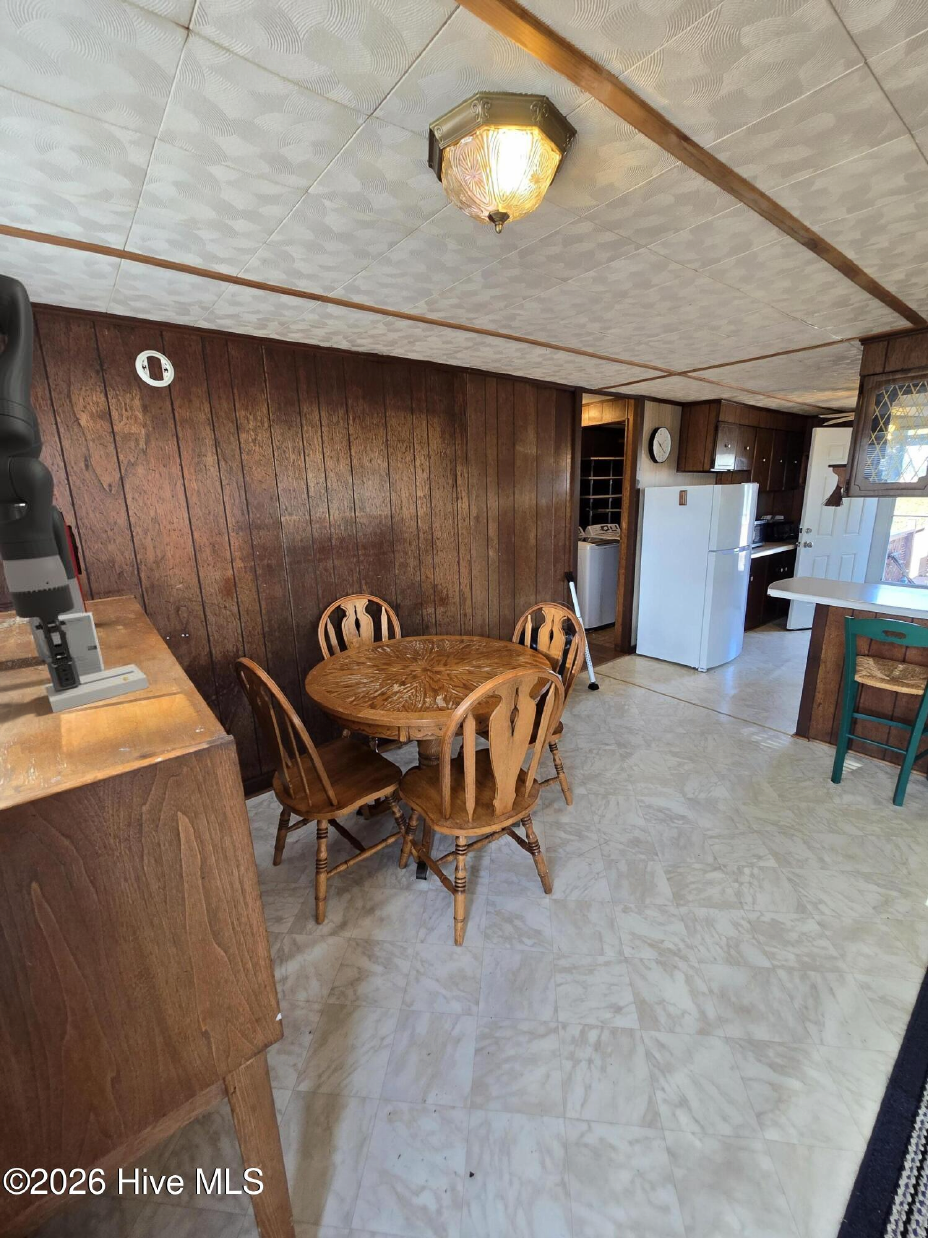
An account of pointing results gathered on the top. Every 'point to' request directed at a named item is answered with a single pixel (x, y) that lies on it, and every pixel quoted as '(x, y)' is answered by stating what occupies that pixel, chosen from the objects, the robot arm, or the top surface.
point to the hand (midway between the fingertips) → (66, 682)
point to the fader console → (97, 687)
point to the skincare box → (83, 642)
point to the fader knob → (54, 676)
